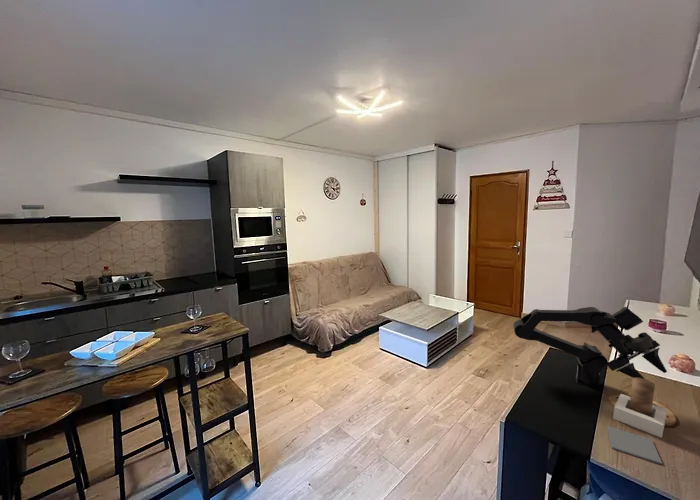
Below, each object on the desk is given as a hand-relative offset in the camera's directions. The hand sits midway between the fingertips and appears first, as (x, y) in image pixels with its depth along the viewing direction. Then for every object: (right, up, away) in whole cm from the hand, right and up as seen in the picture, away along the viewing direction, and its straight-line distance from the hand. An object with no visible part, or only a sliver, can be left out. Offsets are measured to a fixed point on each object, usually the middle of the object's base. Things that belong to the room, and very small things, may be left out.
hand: (656, 378), depth 102 cm
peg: (-12, -11, -6) cm, 17 cm away
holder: (-12, -11, -6) cm, 17 cm away
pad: (-24, -12, -16) cm, 31 cm away
